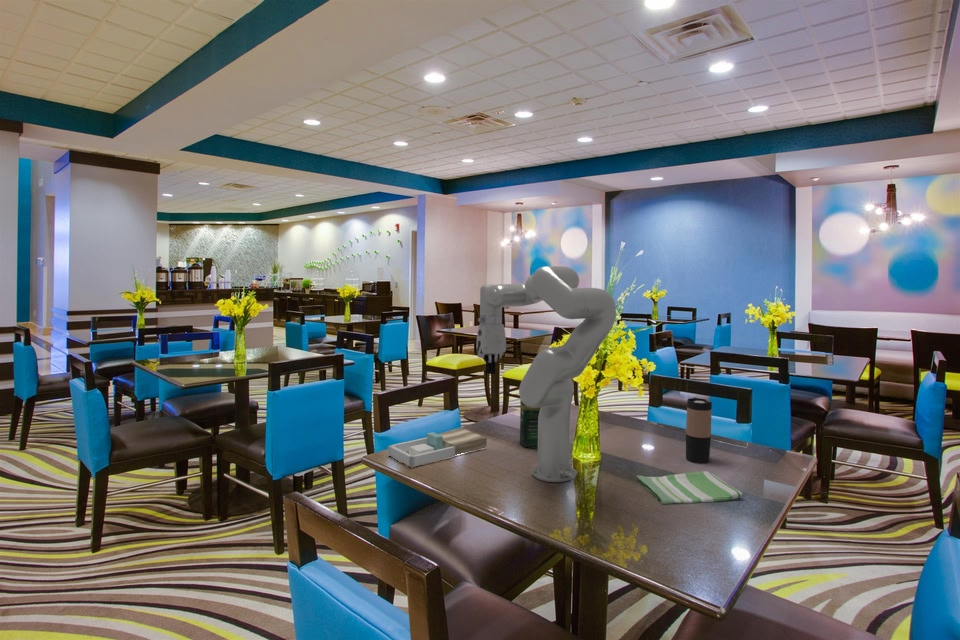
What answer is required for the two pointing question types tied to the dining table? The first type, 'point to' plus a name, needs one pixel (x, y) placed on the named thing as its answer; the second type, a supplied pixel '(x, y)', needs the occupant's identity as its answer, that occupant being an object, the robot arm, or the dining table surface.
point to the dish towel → (689, 488)
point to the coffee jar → (529, 426)
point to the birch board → (463, 441)
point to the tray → (400, 454)
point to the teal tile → (435, 440)
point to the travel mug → (698, 430)
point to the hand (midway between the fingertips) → (490, 373)
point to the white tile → (420, 449)
